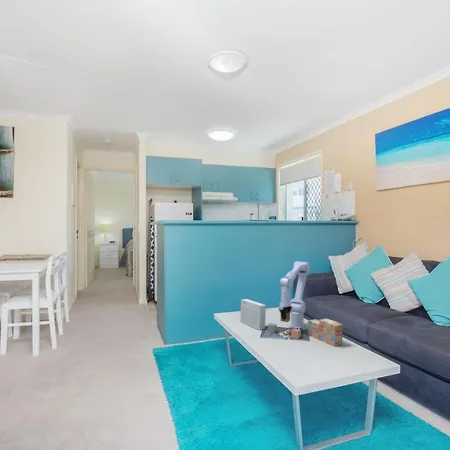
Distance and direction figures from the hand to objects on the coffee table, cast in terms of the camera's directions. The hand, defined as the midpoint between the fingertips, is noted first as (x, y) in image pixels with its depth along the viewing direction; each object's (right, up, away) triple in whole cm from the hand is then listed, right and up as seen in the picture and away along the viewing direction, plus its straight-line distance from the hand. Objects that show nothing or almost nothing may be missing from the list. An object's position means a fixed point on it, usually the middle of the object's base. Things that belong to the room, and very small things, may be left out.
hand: (285, 318), depth 200 cm
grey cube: (-8, -9, +3) cm, 13 cm away
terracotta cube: (+5, -10, -6) cm, 13 cm away
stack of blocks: (+22, -10, -10) cm, 26 cm away
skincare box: (-19, -9, +15) cm, 26 cm away
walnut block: (0, -1, 0) cm, 1 cm away
